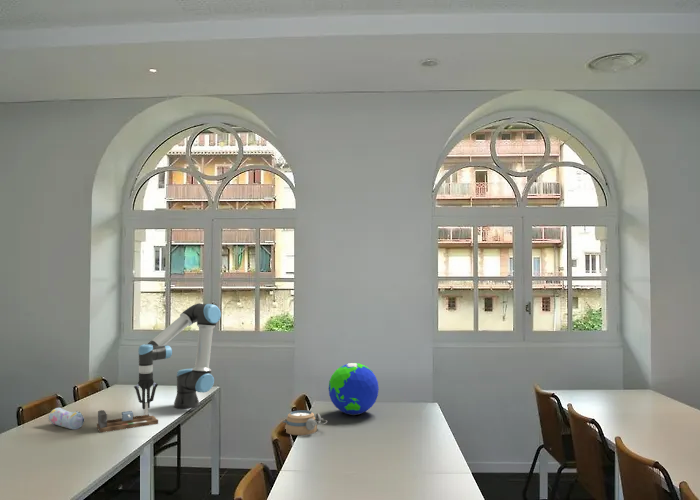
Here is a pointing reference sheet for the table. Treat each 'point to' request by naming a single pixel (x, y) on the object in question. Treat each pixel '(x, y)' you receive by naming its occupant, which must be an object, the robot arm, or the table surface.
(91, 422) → the table surface
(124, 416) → the blue grey block
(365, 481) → the table surface
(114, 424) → the board
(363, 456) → the table surface
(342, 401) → the globe
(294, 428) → the alarm clock
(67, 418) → the pencil case
